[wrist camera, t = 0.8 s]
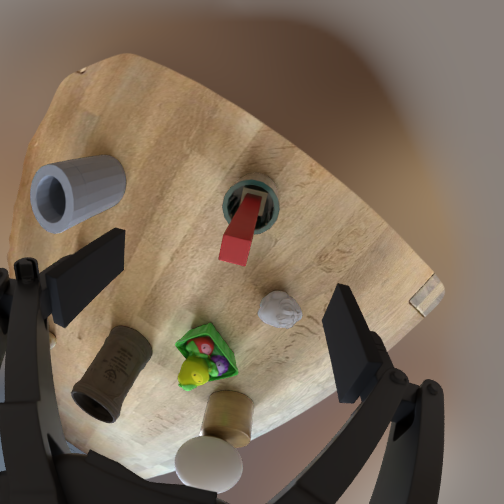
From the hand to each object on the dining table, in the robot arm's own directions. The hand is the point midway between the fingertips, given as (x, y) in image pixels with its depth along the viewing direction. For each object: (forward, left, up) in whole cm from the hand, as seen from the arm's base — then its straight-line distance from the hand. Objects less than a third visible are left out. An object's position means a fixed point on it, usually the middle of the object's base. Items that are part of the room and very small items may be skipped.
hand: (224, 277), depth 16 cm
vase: (+3, -26, -26) cm, 37 cm away
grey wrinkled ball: (+16, +8, -26) cm, 32 cm away
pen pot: (0, 0, -26) cm, 26 cm away
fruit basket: (+30, -2, -26) cm, 40 cm away
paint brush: (0, 0, -26) cm, 26 cm away
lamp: (+50, +4, -26) cm, 56 cm away
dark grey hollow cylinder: (+40, -20, -26) cm, 52 cm away
